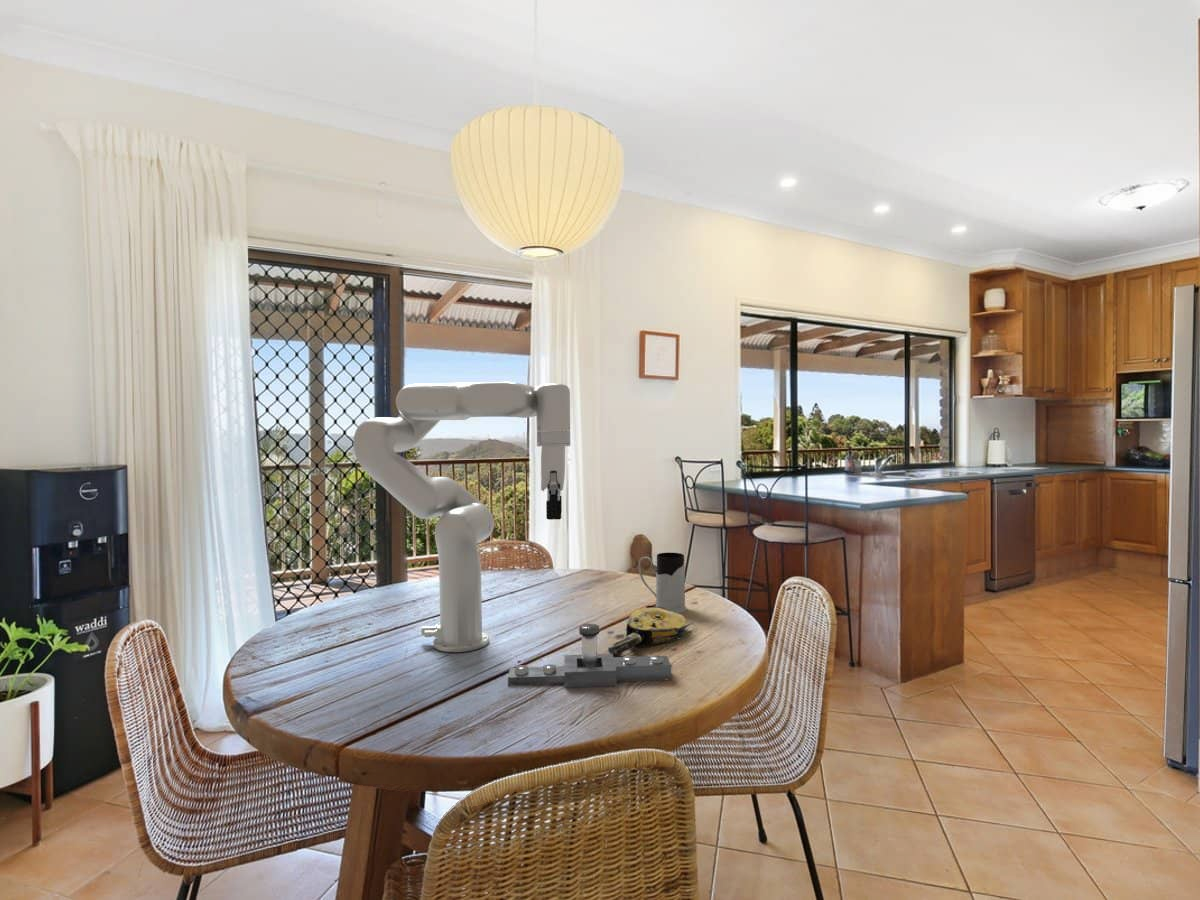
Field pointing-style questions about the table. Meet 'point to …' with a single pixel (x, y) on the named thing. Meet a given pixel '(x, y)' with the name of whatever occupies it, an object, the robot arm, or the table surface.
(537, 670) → the chain end left
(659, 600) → the grey black mug
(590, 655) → the steel pin
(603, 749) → the table surface
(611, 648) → the pulley block
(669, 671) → the chain end right
